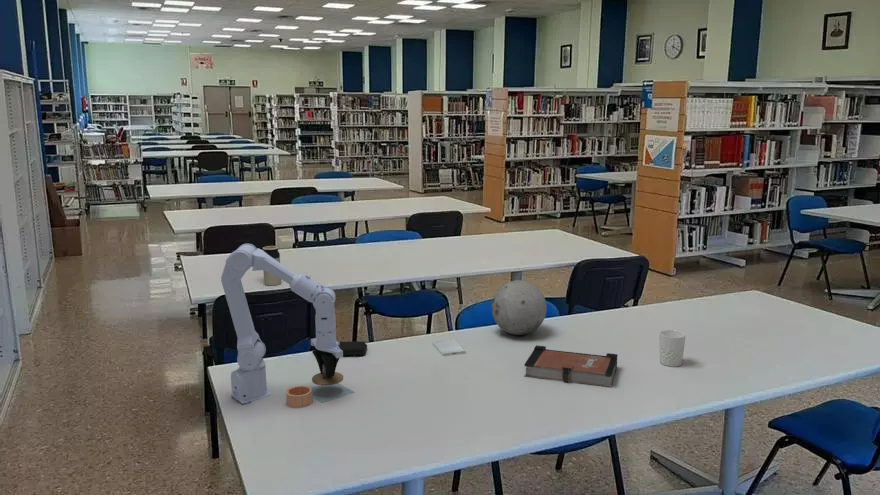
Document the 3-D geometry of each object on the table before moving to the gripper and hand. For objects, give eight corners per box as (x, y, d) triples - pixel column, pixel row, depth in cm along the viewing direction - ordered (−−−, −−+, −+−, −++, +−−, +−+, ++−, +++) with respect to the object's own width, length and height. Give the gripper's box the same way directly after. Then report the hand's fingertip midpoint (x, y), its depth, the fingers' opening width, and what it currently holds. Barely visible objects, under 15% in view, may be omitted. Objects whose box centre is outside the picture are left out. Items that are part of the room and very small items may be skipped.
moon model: (557, 335, 247) (558, 282, 243) (515, 346, 236) (516, 291, 232) (521, 322, 263) (522, 272, 259) (480, 331, 252) (480, 279, 248)
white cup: (687, 362, 219) (689, 333, 217) (677, 369, 214) (679, 339, 212) (664, 357, 224) (666, 328, 223) (653, 363, 219) (655, 334, 217)
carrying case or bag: (368, 347, 237) (326, 347, 237) (367, 338, 237) (325, 339, 237) (365, 358, 227) (321, 358, 227) (364, 349, 226) (320, 349, 226)
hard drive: (432, 341, 238) (442, 353, 227) (454, 339, 241) (465, 350, 229) (432, 346, 239) (442, 357, 227) (454, 343, 241) (465, 355, 229)
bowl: (294, 411, 186) (293, 398, 185) (282, 403, 191) (281, 390, 190) (316, 404, 190) (316, 391, 189) (304, 397, 195) (303, 384, 195)
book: (523, 378, 208) (523, 363, 207) (535, 359, 224) (536, 345, 223) (610, 389, 199) (611, 373, 198) (616, 369, 216) (617, 354, 215)
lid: (322, 388, 191) (321, 372, 190) (306, 378, 197) (305, 363, 196) (349, 379, 196) (348, 364, 195) (332, 371, 203) (332, 356, 202)
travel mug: (279, 286, 321) (276, 248, 318) (262, 286, 321) (260, 249, 318) (283, 281, 329) (281, 245, 326) (266, 282, 329) (264, 245, 326)
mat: (321, 404, 190) (321, 402, 190) (302, 392, 198) (302, 390, 198) (354, 393, 197) (354, 392, 197) (334, 382, 205) (334, 381, 205)
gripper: (351, 333, 191) (352, 378, 194) (324, 321, 202) (326, 364, 204) (330, 338, 186) (331, 384, 189) (303, 326, 197) (305, 370, 200)
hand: (327, 374), depth 196 cm, fingers closed on lid, 3 cm apart
